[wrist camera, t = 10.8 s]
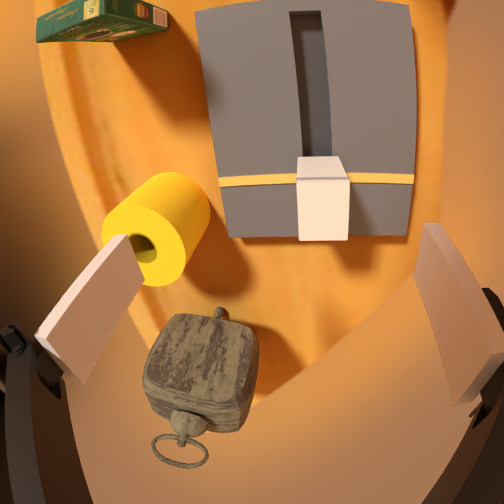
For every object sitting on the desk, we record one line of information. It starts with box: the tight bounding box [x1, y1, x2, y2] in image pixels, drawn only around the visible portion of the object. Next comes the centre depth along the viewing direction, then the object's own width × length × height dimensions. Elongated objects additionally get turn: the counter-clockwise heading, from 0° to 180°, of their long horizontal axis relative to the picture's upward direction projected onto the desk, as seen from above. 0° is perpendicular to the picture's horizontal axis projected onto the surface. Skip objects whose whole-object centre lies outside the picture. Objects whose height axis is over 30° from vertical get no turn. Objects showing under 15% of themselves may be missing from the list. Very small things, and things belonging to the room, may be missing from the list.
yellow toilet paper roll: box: [102, 172, 211, 286], centre depth 33 cm, size 10×10×9 cm
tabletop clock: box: [142, 307, 259, 469], centre depth 36 cm, size 14×9×25 cm, turn 85°
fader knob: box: [296, 156, 350, 241], centre depth 27 cm, size 5×4×10 cm
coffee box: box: [36, 0, 169, 43], centre depth 19 cm, size 8×3×13 cm, turn 89°
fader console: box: [195, 0, 417, 238], centre depth 27 cm, size 26×21×3 cm
